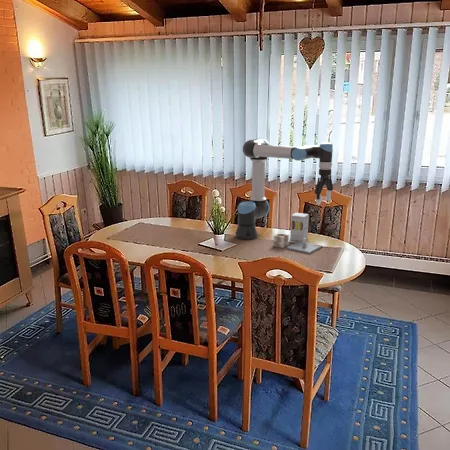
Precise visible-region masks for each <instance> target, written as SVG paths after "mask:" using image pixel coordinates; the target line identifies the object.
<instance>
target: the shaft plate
mask: <svg viewBox="0 0 450 450" xmlns="http://www.w3.org/2000/svg"><path fill="white" fill-rule="evenodd" d="M307 239H308V238H307ZM307 239H306V238H303V241H296V242H295V243H293V244H290V245H288V246H286V250H289V251H294V252H298V253H301V254H306V255H307V254H308V255H311V254H312V253H314V252H316V251H318V250H320V249H322V248H323V245H322V244H318V243H314V242H313V243H312V242H309V241H308V242H307ZM321 247H322V248H321Z"/></svg>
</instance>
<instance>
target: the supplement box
mask: <svg viewBox="0 0 450 450" xmlns="http://www.w3.org/2000/svg"><path fill="white" fill-rule="evenodd" d="M309 217H310V215H309V213H303V212H301V213H300V212H294V213H293V214H291V217H290V235H289V239H290V240H291V241H296V242H298V241H303V238H306V239H308V235H309V220H310V219H309Z"/></svg>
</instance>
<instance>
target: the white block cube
mask: <svg viewBox="0 0 450 450" xmlns="http://www.w3.org/2000/svg"><path fill="white" fill-rule="evenodd" d="M289 239H290V235H289V234H286V233H282V232H278V233H275V234H274V235H273V241H272V242H273V244H272V245H273V247H277V248H282V249H283V248H287V247H288V246H289Z"/></svg>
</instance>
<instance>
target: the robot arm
mask: <svg viewBox="0 0 450 450" xmlns="http://www.w3.org/2000/svg"><path fill="white" fill-rule="evenodd" d="M333 151H334V150H333V143H331V142H321V143H320V144H319V145H310V144H306V145H303V146H290V145H288V146H287V145H274V144H273V145H272V144H270V142H269V141H268V140H267V139H265V138H256V139H249V140H247V141H245V142H244V144H243V146H242V153H243V154H244V155H245V157H247V158H249V159H250V160H249V161H251V162H252V163H251V164H252V165H251V166H252V167H251V169H252V172H251V173H252V175H251V178H252V179H251V196H250V198H249V201H242V202H239V204H238V206H237V228H236V230H235V234H234V235H235V238H236V239H237V240H238V239H239V240H245V241H246V240H254V239H255V240H256V239H257V238H258V234H259V233H258V230H257V228H256V220H257V219H260V218H263V217H266V216H267V215H268V214H269V212H270V204H269V202H268V201H267V200H268V198H267V197H266V195H265V194H266V193H265V192H266V191H265V187H266V185H265V184H266V182H265V181H266V179H265V178H266V162H267V161H268V158H274V159H276V158H277V159H286V160H287V159H289V160H294V161H297V162H298V161H300V162H301V161H303V160H307V159H319V162H318V168H319V169H318V175H319V176H320V177H318V178H317V182H316V186H315V190H314V194H315V195H316V200H315V201H316V202H315V204H316V205H318V206H321V203H322V202H321V201H322V194H321V193H322V192H323V189H324V186H325V187H326V193H325V194H326V195H325V196H326V198H325V201H329V202H330V201H331V198H332V191H333V190H334V186H333V181H332V165H333Z"/></svg>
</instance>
